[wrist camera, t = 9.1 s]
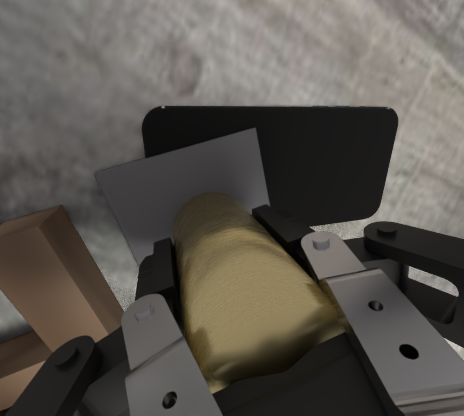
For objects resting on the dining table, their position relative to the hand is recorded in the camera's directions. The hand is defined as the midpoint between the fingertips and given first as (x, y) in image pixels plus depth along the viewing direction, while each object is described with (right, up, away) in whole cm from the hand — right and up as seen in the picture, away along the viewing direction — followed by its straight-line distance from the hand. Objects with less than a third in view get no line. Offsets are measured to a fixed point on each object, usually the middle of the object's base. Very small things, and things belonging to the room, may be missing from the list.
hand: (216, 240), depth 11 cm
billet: (0, 0, +1) cm, 1 cm away
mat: (-1, +1, +2) cm, 3 cm away
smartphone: (+4, +4, +3) cm, 6 cm away
